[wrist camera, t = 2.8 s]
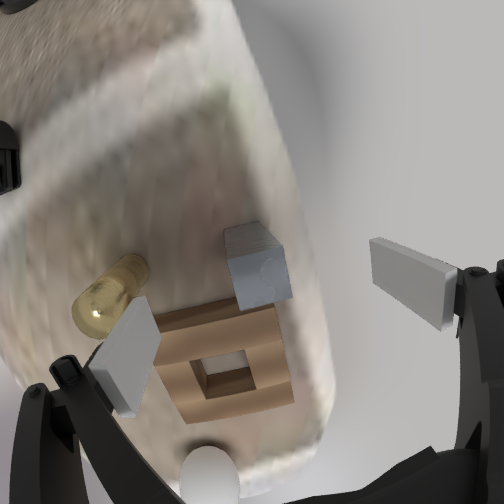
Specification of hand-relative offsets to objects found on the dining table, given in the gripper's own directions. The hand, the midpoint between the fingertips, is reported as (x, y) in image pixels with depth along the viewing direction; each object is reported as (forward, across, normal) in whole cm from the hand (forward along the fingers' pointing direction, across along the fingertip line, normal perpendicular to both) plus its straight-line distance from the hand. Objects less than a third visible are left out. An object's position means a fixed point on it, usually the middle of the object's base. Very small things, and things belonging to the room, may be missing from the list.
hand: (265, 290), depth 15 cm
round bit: (+11, -11, 0) cm, 16 cm away
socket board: (+11, -5, -10) cm, 16 cm away
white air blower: (+12, -12, -28) cm, 32 cm away
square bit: (+11, 0, 0) cm, 11 cm away
